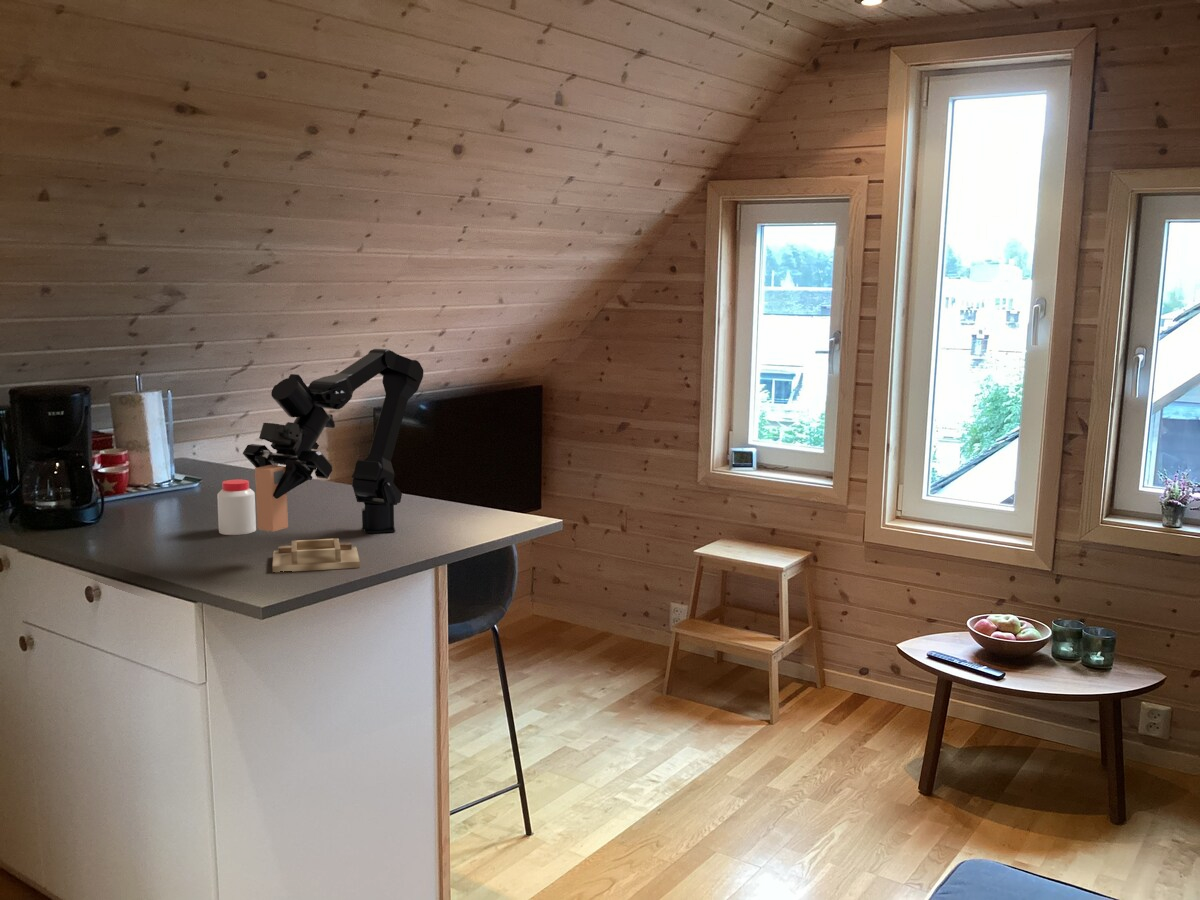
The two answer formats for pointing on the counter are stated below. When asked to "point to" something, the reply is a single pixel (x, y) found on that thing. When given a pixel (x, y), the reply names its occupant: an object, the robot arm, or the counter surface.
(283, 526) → the block
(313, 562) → the jig
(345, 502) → the counter surface
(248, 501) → the pill bottle
